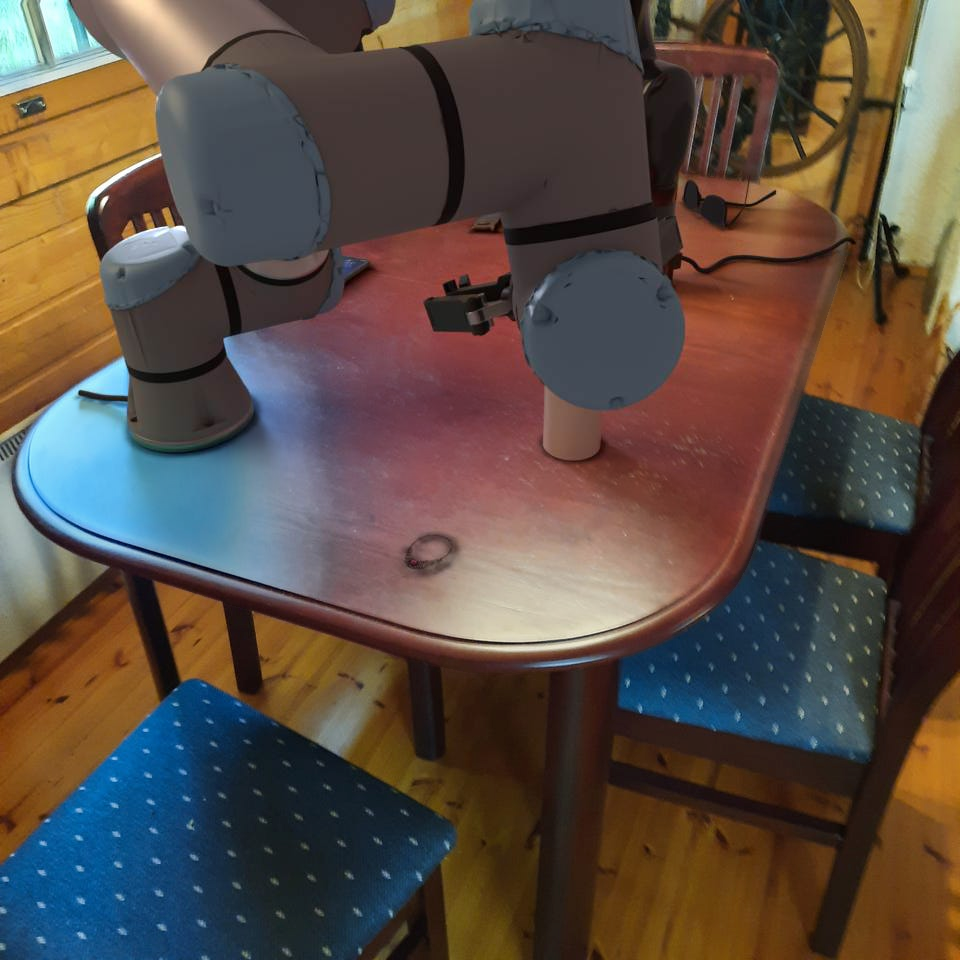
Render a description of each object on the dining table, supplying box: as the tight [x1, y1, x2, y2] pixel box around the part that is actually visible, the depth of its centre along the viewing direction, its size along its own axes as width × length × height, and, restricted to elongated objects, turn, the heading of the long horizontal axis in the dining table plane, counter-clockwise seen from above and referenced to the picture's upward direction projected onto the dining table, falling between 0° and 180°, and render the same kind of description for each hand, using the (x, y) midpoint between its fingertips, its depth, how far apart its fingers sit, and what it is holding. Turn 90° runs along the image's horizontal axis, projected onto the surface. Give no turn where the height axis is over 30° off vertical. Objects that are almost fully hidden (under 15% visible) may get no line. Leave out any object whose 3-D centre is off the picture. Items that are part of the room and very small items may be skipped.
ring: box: [403, 533, 453, 570], centre depth 87 cm, size 4×6×1 cm
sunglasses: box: [681, 175, 777, 228], centre depth 163 cm, size 17×14×5 cm
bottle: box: [542, 384, 604, 462], centre depth 96 cm, size 7×7×21 cm
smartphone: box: [342, 255, 372, 284], centre depth 143 cm, size 7×1×15 cm
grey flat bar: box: [470, 213, 501, 232], centre depth 168 cm, size 24×5×1 cm, turn 168°
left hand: (543, 265), depth 73 cm, fingers open, 13 cm apart
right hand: (354, 137), depth 106 cm, fingers open, 8 cm apart
